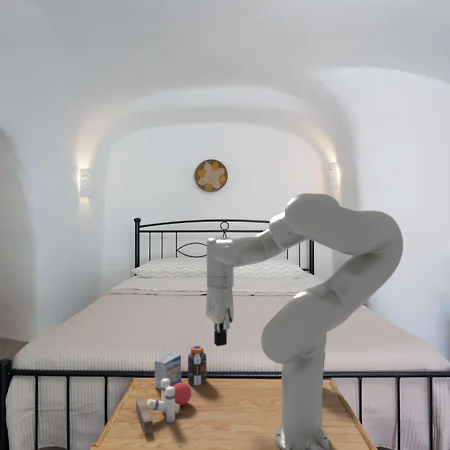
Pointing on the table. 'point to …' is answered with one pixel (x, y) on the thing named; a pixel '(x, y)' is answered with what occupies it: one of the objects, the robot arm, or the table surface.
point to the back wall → (144, 416)
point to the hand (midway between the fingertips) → (220, 344)
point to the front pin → (160, 406)
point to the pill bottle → (197, 366)
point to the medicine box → (168, 369)
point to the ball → (182, 393)
